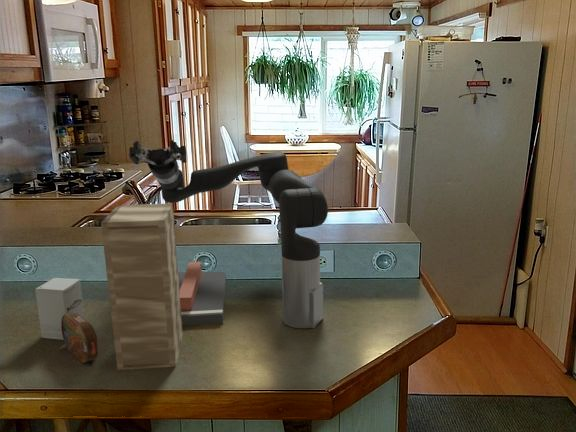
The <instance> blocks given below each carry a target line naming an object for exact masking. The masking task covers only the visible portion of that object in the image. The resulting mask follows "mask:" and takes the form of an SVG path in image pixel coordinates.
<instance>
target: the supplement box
mask: <svg viewBox="0 0 576 432" xmlns="http://www.w3.org/2000/svg"><path fill="white" fill-rule="evenodd" d="M34 292H35V298H36V306H37V313H38V318H39V325H40V326H39V327H40V333H41V338H42V339H52V340H61V341H64V339H63V335H62V329H61V320H62V317H63V315H68V314H72V313H77V314H79V315H80V316H81V317H82V318H84V319H85V320H86V318H85V308H84V299H83V292H82V285H81V279H80V278H66V277H65V278H62V277H53V278H52V279H49V280H48V281H46V282H45V283H43V284H41V285H40V286H37V287H36V288H35V289H34Z"/></svg>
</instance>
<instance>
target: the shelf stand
mask: <svg viewBox="0 0 576 432" xmlns="http://www.w3.org/2000/svg"><path fill="white" fill-rule="evenodd" d="M100 225H101V235H102V243H103V251H104V252H103V253H104V262H105V270H106V279H107V280H106V281H107V286H108V288H107V289H108V296H109V297H108V298H109V305H110V307H109V308H110V313H111V323H112V324H111V325H112V333H113V342H114V349H115V357H116V358H115V359H116V367H117V371H126V370H142V369H159V368H173V367H175V368H177V364H178V359H179V355H180V350H181V344H182V340H183V335H184V334H183V325H182V318H181V305H180V291H179V278H178V273H179V267H178V256H177V255H178V254H177V241H176V239H177V238H176V226H175V214H174V203H168V202H167V203H150V204H149V203H148V204H146V203H145V204H144V203H143V204H119V205H118V204H117V205H116V206H115V207H114V208H113V209H112V210H111V212H110V213H108V215H107V216H106V217H105V218H104V219H103V220H102V221H101V222H100Z"/></svg>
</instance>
